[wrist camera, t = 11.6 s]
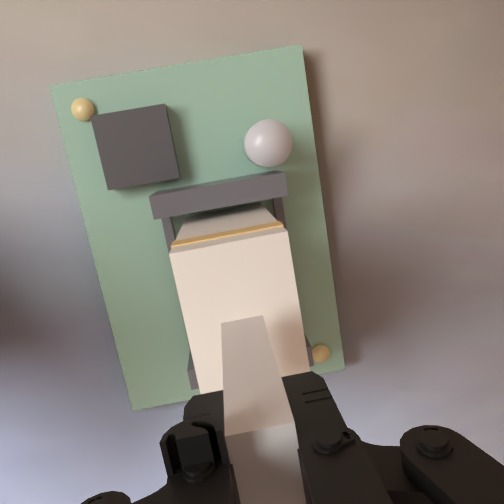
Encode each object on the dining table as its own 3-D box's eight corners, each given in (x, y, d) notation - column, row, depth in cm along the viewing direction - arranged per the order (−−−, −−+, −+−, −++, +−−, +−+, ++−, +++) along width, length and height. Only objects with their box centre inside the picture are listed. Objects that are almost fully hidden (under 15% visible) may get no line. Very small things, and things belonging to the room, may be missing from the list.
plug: (184, 216, 26) (167, 252, 17) (261, 202, 27) (288, 229, 17) (208, 327, 28) (205, 420, 18) (280, 313, 28) (315, 397, 18)
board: (56, 89, 25) (26, 76, 21) (297, 49, 26) (313, 29, 22) (135, 401, 30) (123, 440, 26) (340, 360, 30) (359, 392, 26)
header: (157, 190, 26) (145, 198, 22) (275, 169, 26) (288, 173, 22) (194, 361, 28) (190, 399, 24) (302, 340, 29) (318, 374, 24)
